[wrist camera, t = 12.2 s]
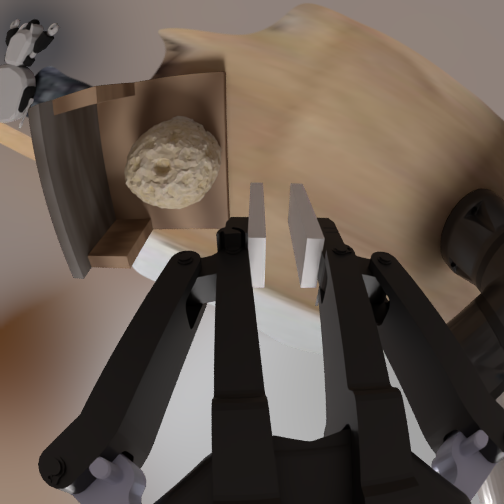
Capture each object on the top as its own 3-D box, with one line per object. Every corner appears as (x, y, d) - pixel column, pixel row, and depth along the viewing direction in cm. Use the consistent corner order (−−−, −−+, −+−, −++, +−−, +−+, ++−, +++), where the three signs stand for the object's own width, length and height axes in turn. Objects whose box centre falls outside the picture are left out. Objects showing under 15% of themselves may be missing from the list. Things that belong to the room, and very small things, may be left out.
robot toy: (24, 19, 16) (-8, 108, 23) (6, 17, 12) (-27, 113, 19) (75, 26, 19) (36, 127, 26) (56, 20, 16) (15, 133, 22)
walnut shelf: (225, 72, 24) (205, 64, 14) (229, 220, 35) (218, 284, 25) (94, 92, 25) (27, 108, 15) (115, 222, 35) (73, 277, 25)
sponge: (175, 112, 29) (98, 129, 22) (239, 114, 24) (151, 129, 17) (180, 184, 34) (112, 213, 27) (239, 201, 29) (165, 241, 22)
